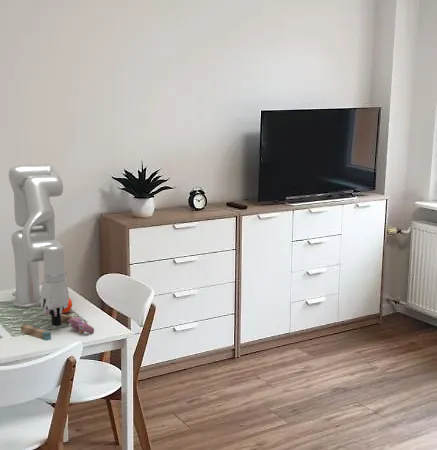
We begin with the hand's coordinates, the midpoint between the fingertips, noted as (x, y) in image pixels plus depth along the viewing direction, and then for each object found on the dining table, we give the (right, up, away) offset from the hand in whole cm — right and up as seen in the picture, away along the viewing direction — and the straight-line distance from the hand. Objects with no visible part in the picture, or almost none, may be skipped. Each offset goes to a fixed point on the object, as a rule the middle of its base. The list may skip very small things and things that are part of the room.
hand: (56, 325), depth 256 cm
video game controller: (+9, -3, -1) cm, 10 cm away
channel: (-1, -2, +1) cm, 2 cm away
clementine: (-2, +2, +21) cm, 21 cm away
